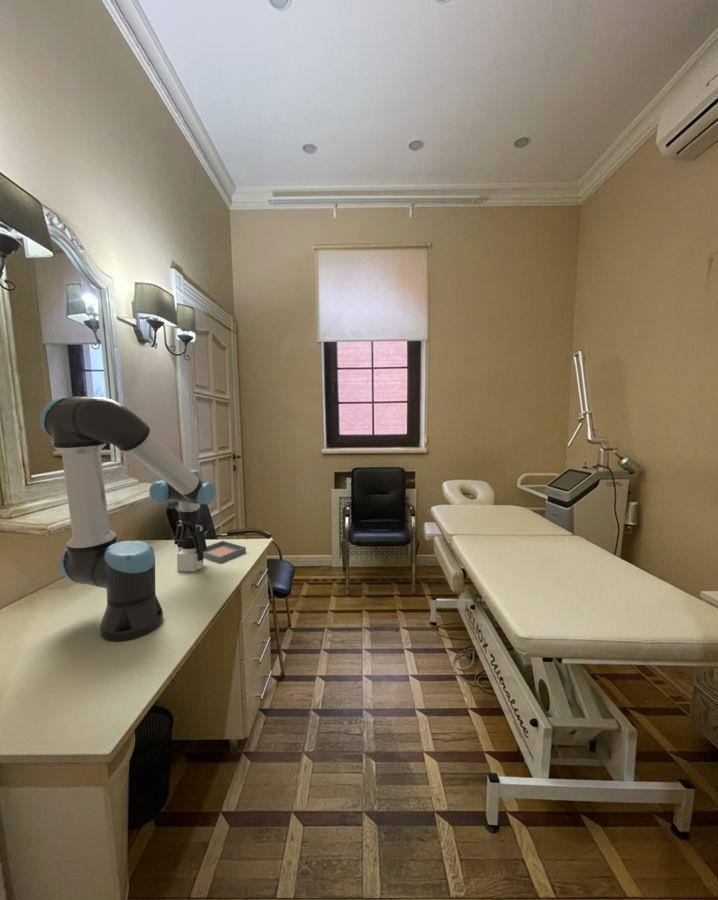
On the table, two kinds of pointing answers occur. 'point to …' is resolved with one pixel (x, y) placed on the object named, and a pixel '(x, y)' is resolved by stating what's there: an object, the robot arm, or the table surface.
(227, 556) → the tray
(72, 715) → the table surface
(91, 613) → the table surface
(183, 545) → the medicine bottle
